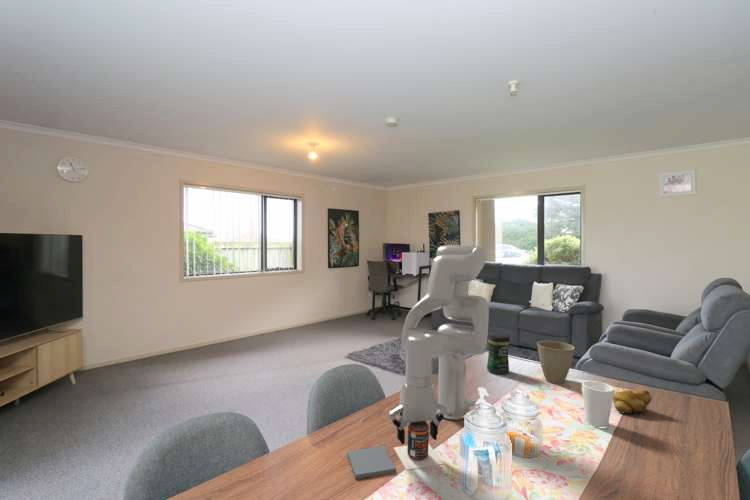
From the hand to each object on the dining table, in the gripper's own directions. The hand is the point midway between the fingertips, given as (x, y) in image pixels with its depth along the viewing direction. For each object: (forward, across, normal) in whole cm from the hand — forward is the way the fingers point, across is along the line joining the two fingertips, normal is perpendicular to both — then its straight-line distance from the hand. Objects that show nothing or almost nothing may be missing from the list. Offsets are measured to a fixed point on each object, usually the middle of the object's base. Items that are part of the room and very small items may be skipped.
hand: (417, 439), depth 104 cm
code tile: (+5, 0, 0) cm, 5 cm away
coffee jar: (+4, -63, -54) cm, 83 cm away
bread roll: (+4, -87, -8) cm, 87 cm away
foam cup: (+4, -66, -2) cm, 66 cm away
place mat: (+5, +14, 0) cm, 15 cm away
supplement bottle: (+5, 0, 0) cm, 5 cm away
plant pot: (+4, -81, -38) cm, 90 cm away
